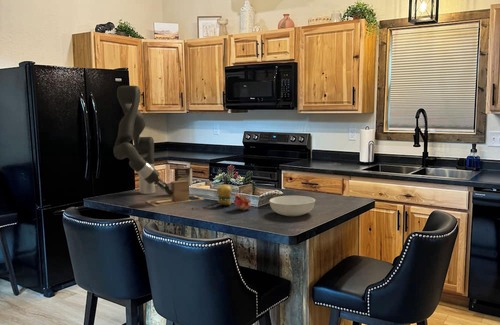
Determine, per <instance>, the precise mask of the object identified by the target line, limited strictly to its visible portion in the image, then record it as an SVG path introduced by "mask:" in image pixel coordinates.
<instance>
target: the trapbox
mask: <svg viewBox="0 0 500 325" xmlns="http://www.w3.org/2000/svg"><path fill="white" fill-rule="evenodd" d="M191 197H193V198H196V199H189V200H188V201H180V202H173V201H171V197H166V198H159V199H158V198H157V199H150V200H145V202H146V203H147V204H149V205H151V206H153V207H162V206H163V207H164V206H170V205H176V204H178V205H179V204H185V203H192V202H193V203H194V202H201V201H202V202H203V201H205V200H206V199H205V198H203V197H200V196H197V195H194V194H189V198H191ZM154 202H156V203H158V204H156V203H154Z"/></svg>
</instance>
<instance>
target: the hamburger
mask: <svg viewBox="0 0 500 325" xmlns="http://www.w3.org/2000/svg"><path fill="white" fill-rule="evenodd" d="M232 192H233V189H232V187H231V186H230V185H228V184H224V183H220V185H219V187H217V190H216V193H217V197H218V201H217V202H218V204H219V205H220V206H221V205H222V206H231V204H232V201H231V200H232V195H231V194H232Z"/></svg>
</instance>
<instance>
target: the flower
mask: <svg viewBox="0 0 500 325" xmlns="http://www.w3.org/2000/svg"><path fill="white" fill-rule="evenodd" d="M232 199H233V204H234V205H235V206H236V208H235V210H236V211H238V209H239V210H241V211H246V210H248V208H250V207H252V206H253V204H250V203H251V202H252V201H251V200H250V198H247V196H245V195H244V194H241V193H236V194H234V198H232ZM246 212H247V211H246Z"/></svg>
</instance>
